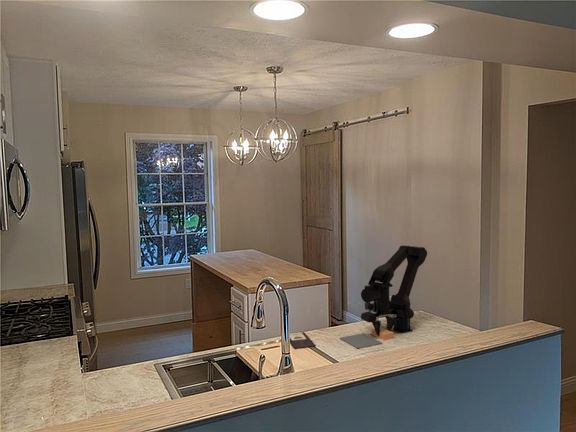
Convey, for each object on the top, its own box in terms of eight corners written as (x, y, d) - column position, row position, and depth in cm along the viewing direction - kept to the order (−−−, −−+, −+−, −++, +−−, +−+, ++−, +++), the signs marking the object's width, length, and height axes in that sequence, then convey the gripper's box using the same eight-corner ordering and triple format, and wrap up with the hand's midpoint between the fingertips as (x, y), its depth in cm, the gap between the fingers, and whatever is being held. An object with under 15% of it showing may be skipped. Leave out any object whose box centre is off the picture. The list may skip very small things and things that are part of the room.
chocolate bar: (294, 347, 180) (284, 334, 198) (294, 350, 180) (284, 336, 198) (315, 345, 182) (304, 332, 200) (315, 347, 182) (304, 334, 200)
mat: (363, 334, 196) (363, 333, 196) (382, 343, 183) (382, 342, 183) (339, 338, 191) (339, 337, 191) (357, 348, 178) (357, 347, 178)
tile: (382, 333, 196) (382, 327, 196) (393, 338, 189) (393, 332, 189) (372, 335, 194) (372, 329, 194) (384, 340, 187) (384, 334, 187)
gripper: (388, 291, 202) (389, 326, 203) (353, 297, 194) (354, 332, 195) (404, 297, 192) (405, 332, 193) (368, 302, 184) (369, 340, 185)
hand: (383, 334), depth 192 cm, fingers closed on tile, 5 cm apart
